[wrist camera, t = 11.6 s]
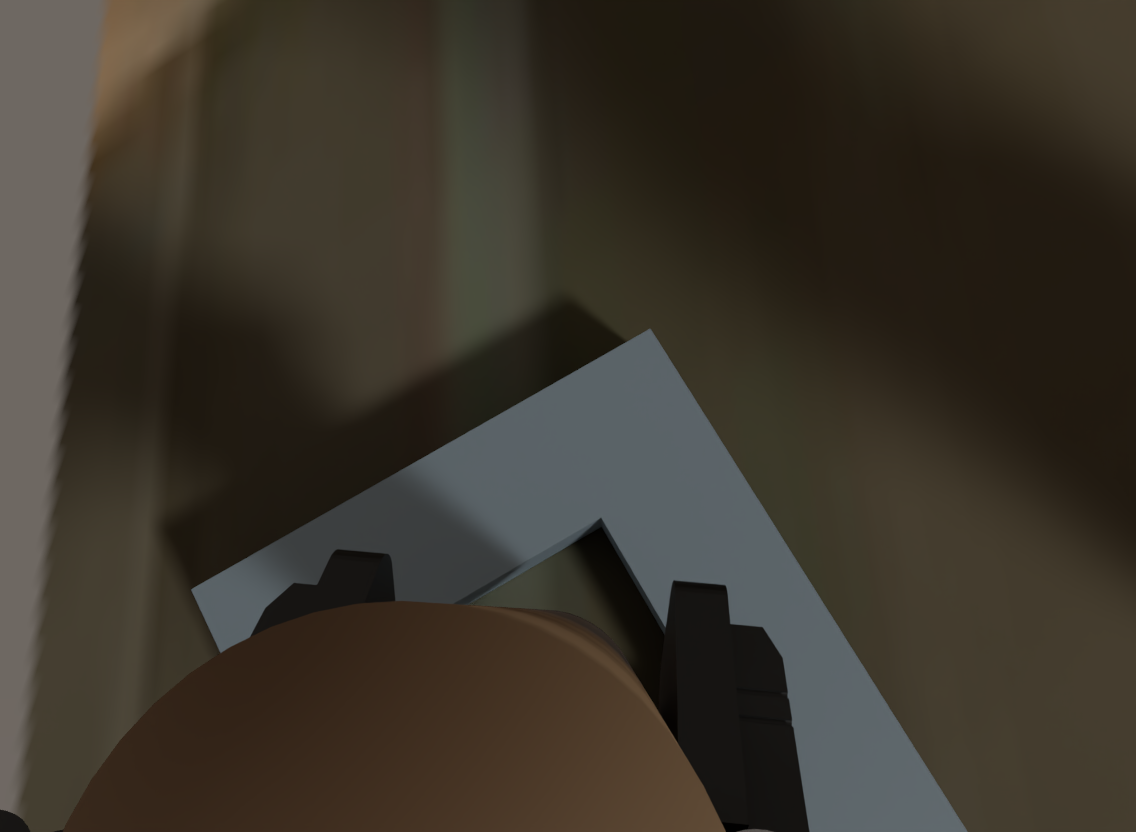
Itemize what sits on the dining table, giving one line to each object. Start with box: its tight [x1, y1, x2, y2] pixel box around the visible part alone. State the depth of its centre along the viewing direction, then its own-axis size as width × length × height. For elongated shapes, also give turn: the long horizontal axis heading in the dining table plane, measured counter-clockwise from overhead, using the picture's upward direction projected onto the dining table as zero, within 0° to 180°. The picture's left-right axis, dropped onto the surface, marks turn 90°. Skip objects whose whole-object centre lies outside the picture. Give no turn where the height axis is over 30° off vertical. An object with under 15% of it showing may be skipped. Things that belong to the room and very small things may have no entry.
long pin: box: [63, 601, 726, 832], centre depth 12 cm, size 4×4×14 cm
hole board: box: [191, 329, 967, 832], centre depth 21 cm, size 13×20×2 cm, turn 30°
